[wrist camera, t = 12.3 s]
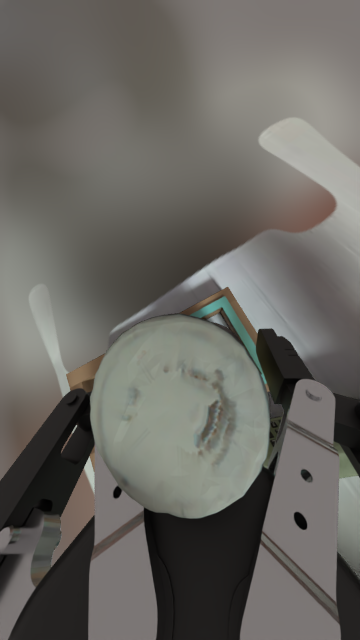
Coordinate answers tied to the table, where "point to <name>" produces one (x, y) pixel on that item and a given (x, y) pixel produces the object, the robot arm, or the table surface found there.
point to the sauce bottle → (181, 415)
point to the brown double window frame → (203, 310)
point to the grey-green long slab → (344, 463)
